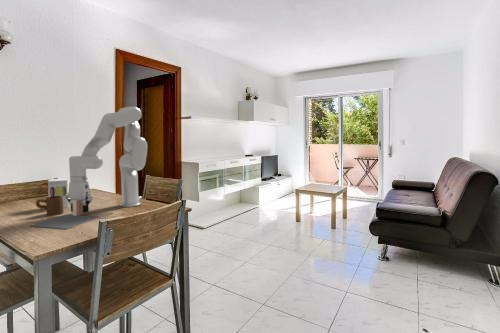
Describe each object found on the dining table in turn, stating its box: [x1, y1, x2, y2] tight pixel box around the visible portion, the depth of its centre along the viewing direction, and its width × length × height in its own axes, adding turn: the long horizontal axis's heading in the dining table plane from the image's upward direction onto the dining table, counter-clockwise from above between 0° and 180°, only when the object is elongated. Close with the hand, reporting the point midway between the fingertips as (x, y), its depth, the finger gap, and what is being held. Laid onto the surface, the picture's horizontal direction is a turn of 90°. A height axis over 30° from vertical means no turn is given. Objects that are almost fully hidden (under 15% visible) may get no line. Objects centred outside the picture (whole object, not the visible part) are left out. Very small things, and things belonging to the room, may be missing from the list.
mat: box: [29, 214, 99, 230], centre depth 140 cm, size 20×20×1 cm
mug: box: [35, 196, 64, 216], centre depth 153 cm, size 12×8×9 cm, turn 130°
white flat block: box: [72, 200, 88, 216], centre depth 154 cm, size 7×2×8 cm, turn 168°
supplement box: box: [47, 178, 69, 209], centre depth 169 cm, size 10×9×17 cm
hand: (79, 211), depth 154 cm, fingers open, 6 cm apart
